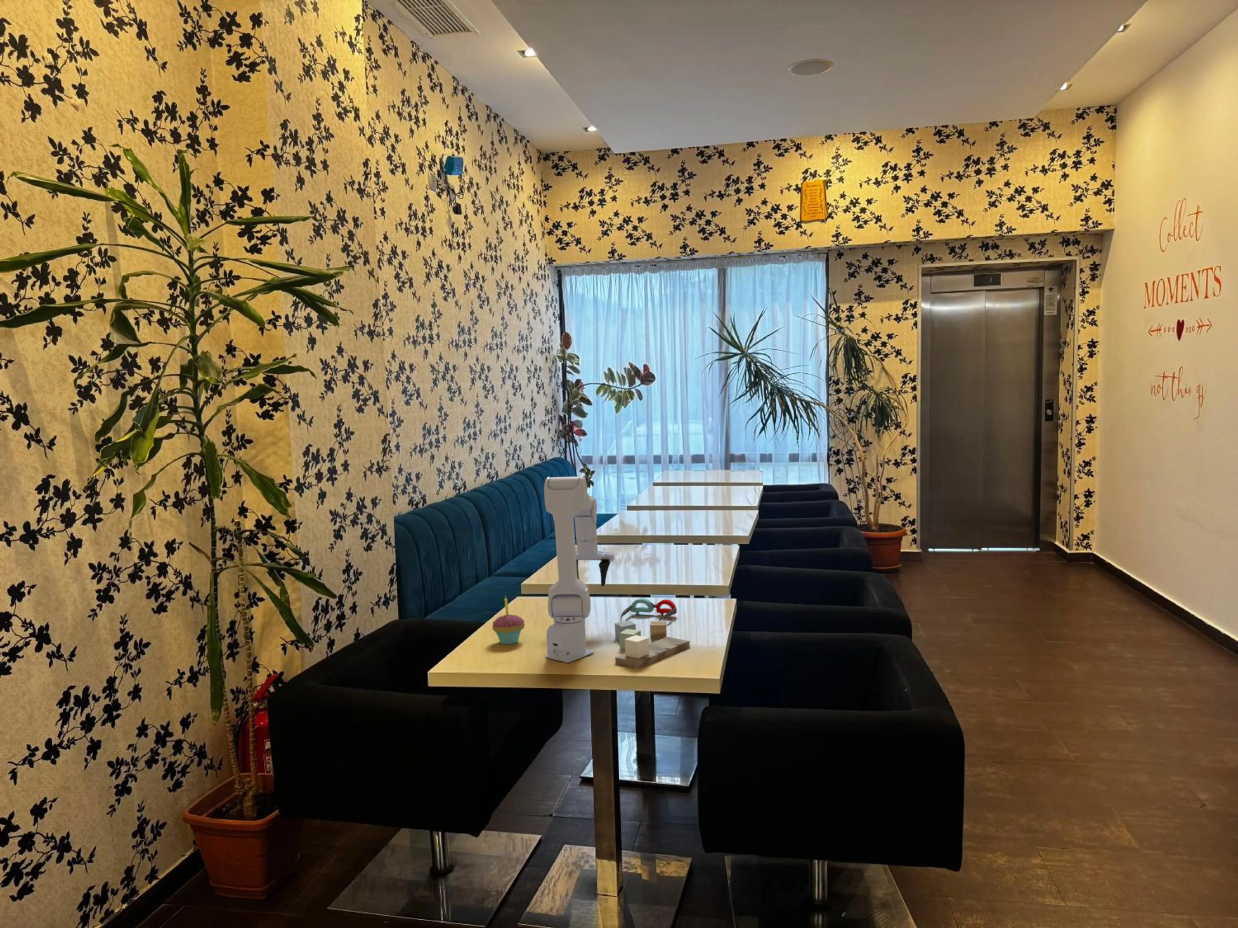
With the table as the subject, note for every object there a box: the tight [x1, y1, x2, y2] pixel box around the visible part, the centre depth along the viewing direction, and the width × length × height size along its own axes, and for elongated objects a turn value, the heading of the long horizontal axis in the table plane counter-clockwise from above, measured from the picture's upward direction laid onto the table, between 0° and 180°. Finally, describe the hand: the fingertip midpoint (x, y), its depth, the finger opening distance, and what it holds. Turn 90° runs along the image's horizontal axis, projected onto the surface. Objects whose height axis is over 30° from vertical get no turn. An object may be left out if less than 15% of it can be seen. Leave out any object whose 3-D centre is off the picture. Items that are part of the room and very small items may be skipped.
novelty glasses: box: [620, 597, 678, 621], centre depth 237 cm, size 14×15×5 cm
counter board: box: [614, 636, 691, 669], centre depth 206 cm, size 20×7×2 cm, turn 139°
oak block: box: [649, 620, 668, 641], centre depth 220 cm, size 4×4×4 cm
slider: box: [624, 635, 650, 659], centre depth 201 cm, size 4×4×4 cm
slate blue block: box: [614, 620, 637, 641], centre depth 221 cm, size 4×4×4 cm
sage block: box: [619, 629, 642, 650], centre depth 213 cm, size 4×4×4 cm
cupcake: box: [491, 595, 526, 645], centre depth 222 cm, size 9×8×12 cm
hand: (590, 584), depth 238 cm, fingers open, 7 cm apart
